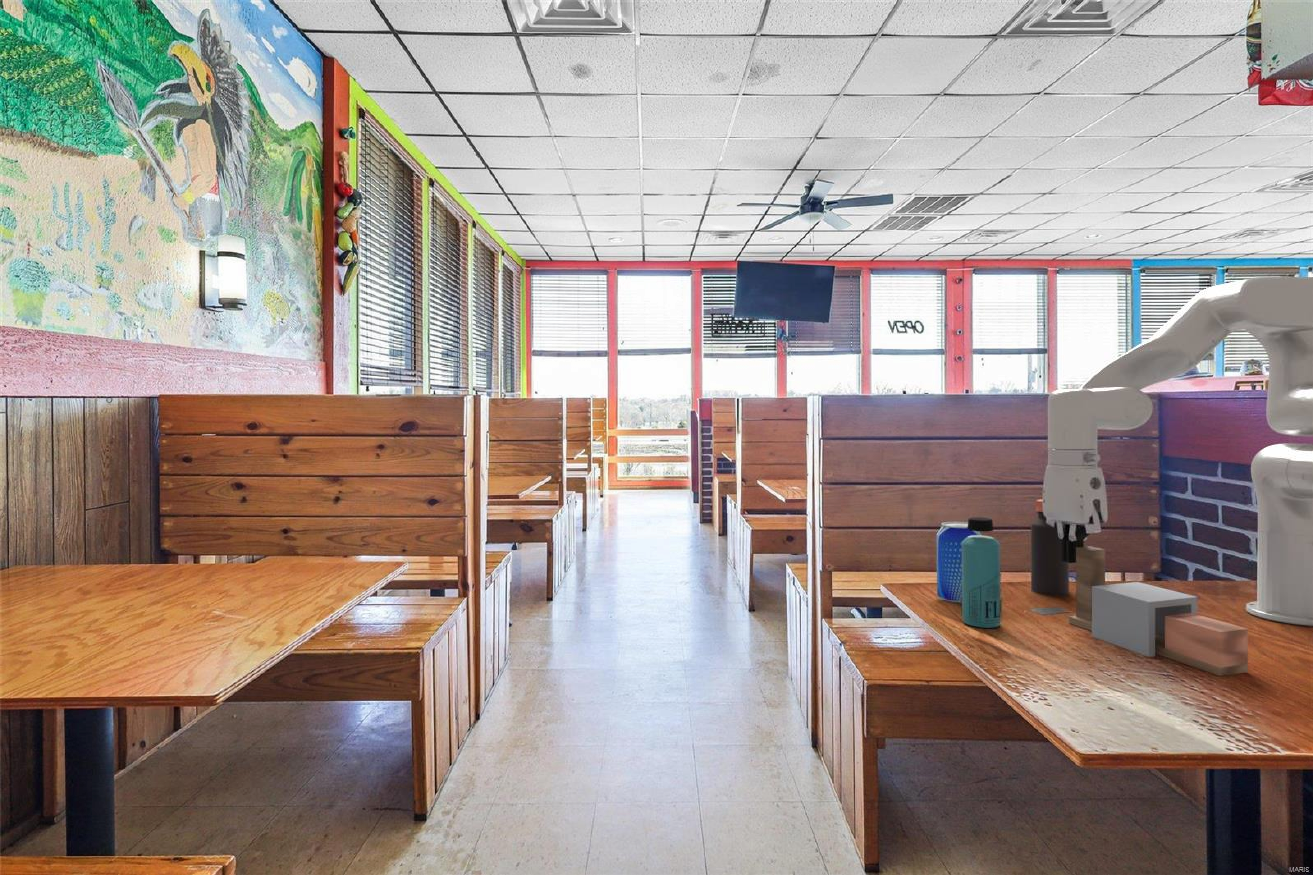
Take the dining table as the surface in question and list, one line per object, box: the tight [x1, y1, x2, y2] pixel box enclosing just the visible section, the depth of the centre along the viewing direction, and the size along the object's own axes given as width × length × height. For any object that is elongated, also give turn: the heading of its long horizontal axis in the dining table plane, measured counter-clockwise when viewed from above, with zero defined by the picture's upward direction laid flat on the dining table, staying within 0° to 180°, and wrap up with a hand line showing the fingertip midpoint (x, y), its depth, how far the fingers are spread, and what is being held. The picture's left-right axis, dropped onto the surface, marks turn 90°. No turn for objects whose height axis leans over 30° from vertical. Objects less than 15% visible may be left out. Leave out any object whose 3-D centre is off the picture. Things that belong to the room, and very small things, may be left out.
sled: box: [1068, 545, 1249, 677], centre depth 108 cm, size 5×26×13 cm, turn 14°
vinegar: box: [1030, 498, 1070, 597], centre depth 141 cm, size 7×7×20 cm
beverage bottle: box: [960, 516, 1003, 629], centre depth 120 cm, size 6×7×20 cm
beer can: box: [936, 521, 983, 603], centre depth 138 cm, size 8×8×16 cm
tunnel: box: [1091, 581, 1199, 658], centre depth 109 cm, size 9×10×8 cm
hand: (1072, 561), depth 122 cm, fingers closed
